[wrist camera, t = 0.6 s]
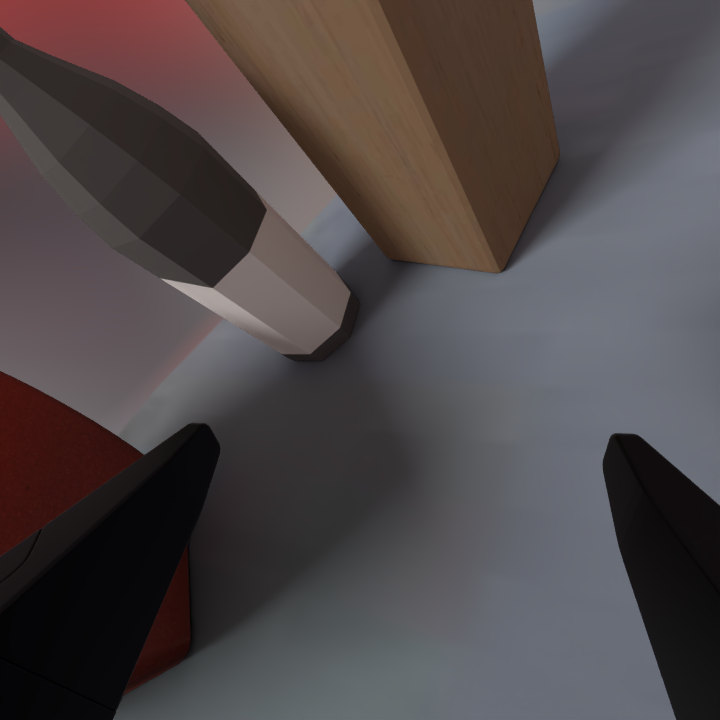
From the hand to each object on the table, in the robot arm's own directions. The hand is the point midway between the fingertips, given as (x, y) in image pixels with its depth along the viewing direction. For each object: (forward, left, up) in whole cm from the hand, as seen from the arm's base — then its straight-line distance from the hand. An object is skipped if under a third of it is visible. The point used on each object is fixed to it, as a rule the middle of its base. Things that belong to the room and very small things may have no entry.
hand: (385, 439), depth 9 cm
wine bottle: (+18, +11, -14) cm, 25 cm away
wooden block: (+21, -3, -14) cm, 25 cm away
